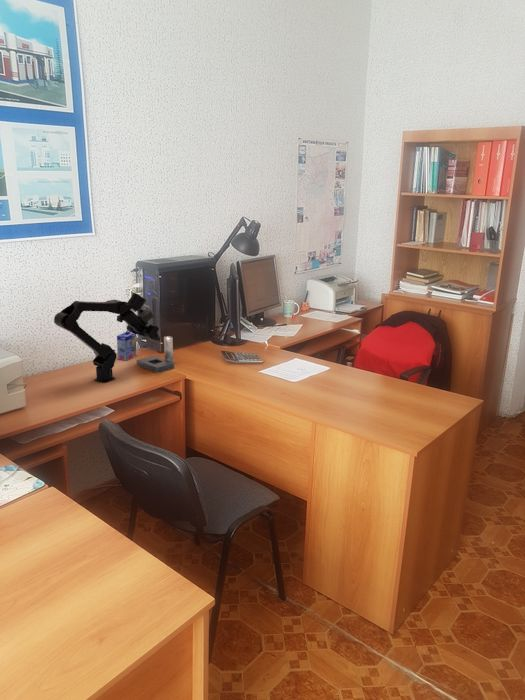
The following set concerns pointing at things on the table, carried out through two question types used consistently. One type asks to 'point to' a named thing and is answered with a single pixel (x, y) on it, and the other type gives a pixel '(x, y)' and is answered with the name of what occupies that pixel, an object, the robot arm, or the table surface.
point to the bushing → (168, 348)
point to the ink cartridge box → (126, 345)
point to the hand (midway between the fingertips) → (153, 338)
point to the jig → (155, 364)
